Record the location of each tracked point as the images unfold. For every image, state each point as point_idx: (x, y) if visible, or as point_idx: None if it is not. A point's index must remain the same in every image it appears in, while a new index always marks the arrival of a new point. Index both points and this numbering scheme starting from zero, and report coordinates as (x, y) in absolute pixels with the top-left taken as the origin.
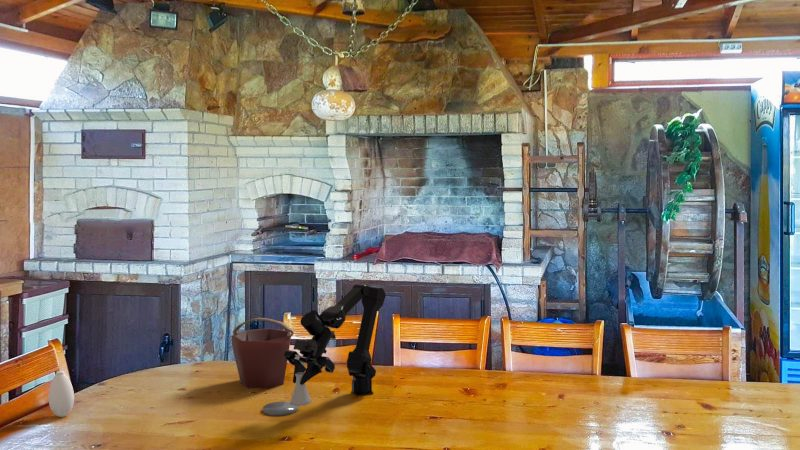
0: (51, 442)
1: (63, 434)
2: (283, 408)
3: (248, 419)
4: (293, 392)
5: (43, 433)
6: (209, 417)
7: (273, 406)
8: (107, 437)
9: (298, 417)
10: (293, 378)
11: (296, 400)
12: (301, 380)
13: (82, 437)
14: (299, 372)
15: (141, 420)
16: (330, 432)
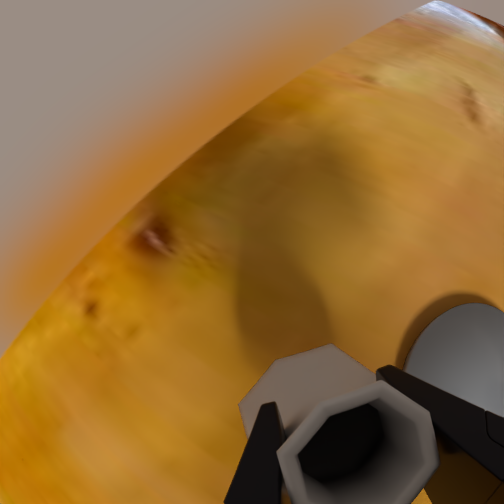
0: (425, 7)
1: (452, 20)
2: (455, 388)
3: (433, 226)
4: (336, 365)
5: (461, 17)
6: (488, 155)
7: (497, 358)
8: (422, 27)
9: None
10: (408, 379)
11: (282, 366)
12: (267, 423)
13: (433, 20)
14: (425, 478)
15: (494, 77)
16: (82, 393)
